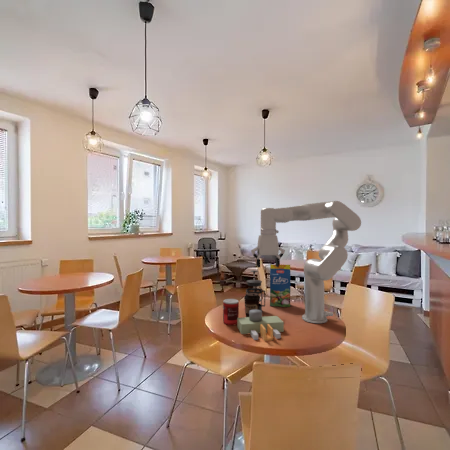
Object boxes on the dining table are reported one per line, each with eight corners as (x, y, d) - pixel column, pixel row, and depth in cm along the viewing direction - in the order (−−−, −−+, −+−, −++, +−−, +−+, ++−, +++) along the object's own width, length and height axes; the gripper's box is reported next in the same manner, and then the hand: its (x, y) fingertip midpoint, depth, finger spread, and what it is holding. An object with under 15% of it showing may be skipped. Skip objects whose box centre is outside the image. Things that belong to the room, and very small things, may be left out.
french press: (243, 312, 158) (243, 271, 158) (246, 307, 167) (246, 268, 167) (264, 314, 155) (264, 272, 155) (265, 309, 164) (266, 269, 164)
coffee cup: (259, 322, 142) (259, 296, 142) (242, 320, 144) (243, 295, 144) (260, 316, 151) (260, 292, 151) (245, 315, 153) (245, 291, 153)
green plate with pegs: (277, 324, 139) (277, 307, 139) (289, 337, 123) (289, 318, 123) (237, 326, 136) (237, 309, 136) (244, 340, 120) (244, 320, 120)
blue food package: (270, 303, 176) (270, 263, 176) (289, 304, 174) (289, 264, 174) (269, 306, 170) (270, 265, 170) (290, 307, 168) (290, 265, 168)
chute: (268, 335, 126) (268, 323, 126) (273, 340, 120) (273, 328, 120) (260, 335, 126) (260, 324, 125) (264, 341, 120) (264, 329, 120)
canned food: (229, 318, 147) (229, 297, 147) (241, 322, 142) (241, 300, 142) (219, 322, 141) (219, 300, 141) (232, 326, 136) (232, 303, 136)
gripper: (282, 232, 145) (281, 265, 146) (249, 232, 143) (249, 266, 143) (287, 232, 138) (287, 267, 138) (253, 232, 135) (253, 268, 135)
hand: (267, 266), depth 140 cm, fingers open, 9 cm apart
